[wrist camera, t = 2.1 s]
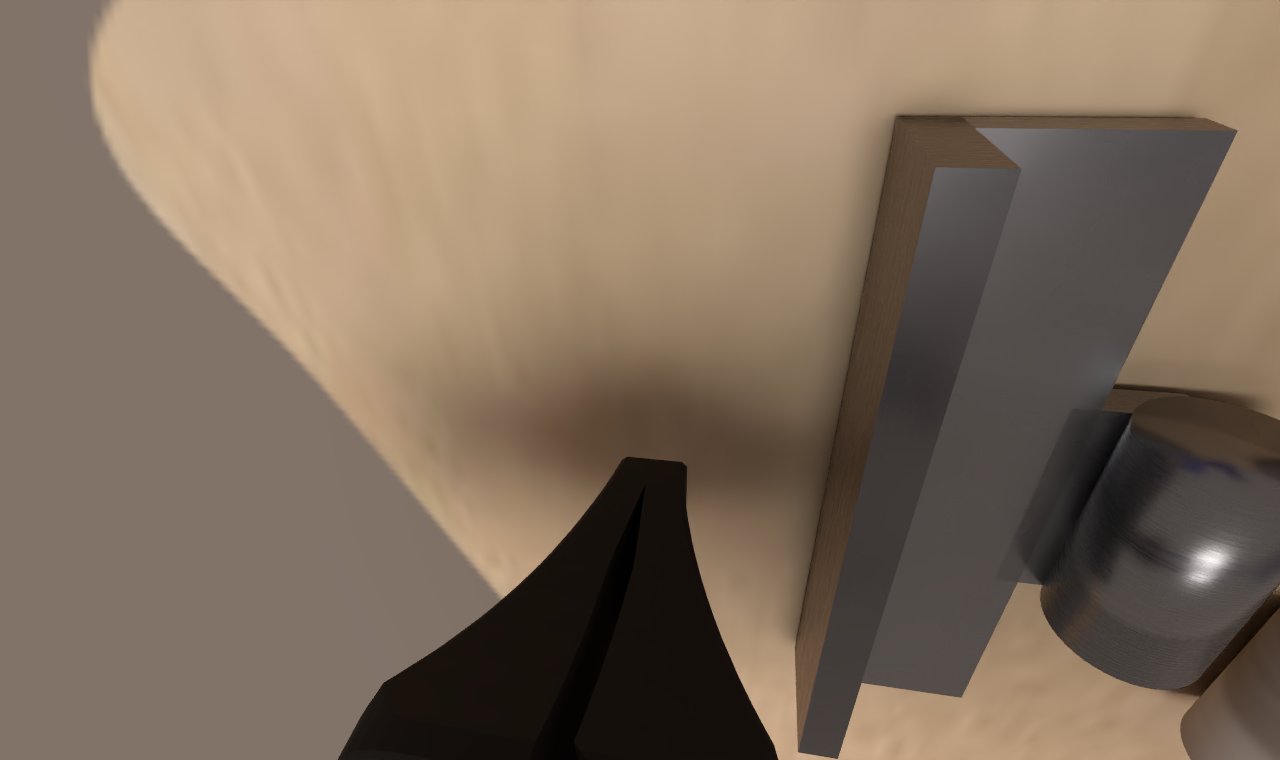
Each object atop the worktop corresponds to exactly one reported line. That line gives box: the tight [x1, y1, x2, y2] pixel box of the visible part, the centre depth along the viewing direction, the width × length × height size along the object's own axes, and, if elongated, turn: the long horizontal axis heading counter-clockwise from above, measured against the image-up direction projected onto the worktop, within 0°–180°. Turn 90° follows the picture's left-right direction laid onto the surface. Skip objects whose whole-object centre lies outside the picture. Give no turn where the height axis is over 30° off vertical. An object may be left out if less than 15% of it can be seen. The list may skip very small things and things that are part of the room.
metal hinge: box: [795, 116, 1280, 759], centre depth 13 cm, size 8×15×3 cm, turn 1°
